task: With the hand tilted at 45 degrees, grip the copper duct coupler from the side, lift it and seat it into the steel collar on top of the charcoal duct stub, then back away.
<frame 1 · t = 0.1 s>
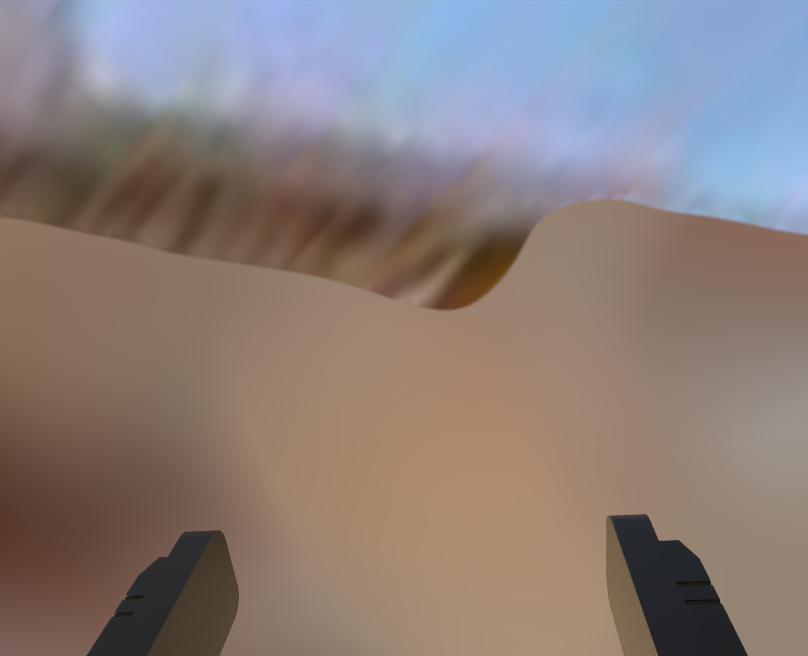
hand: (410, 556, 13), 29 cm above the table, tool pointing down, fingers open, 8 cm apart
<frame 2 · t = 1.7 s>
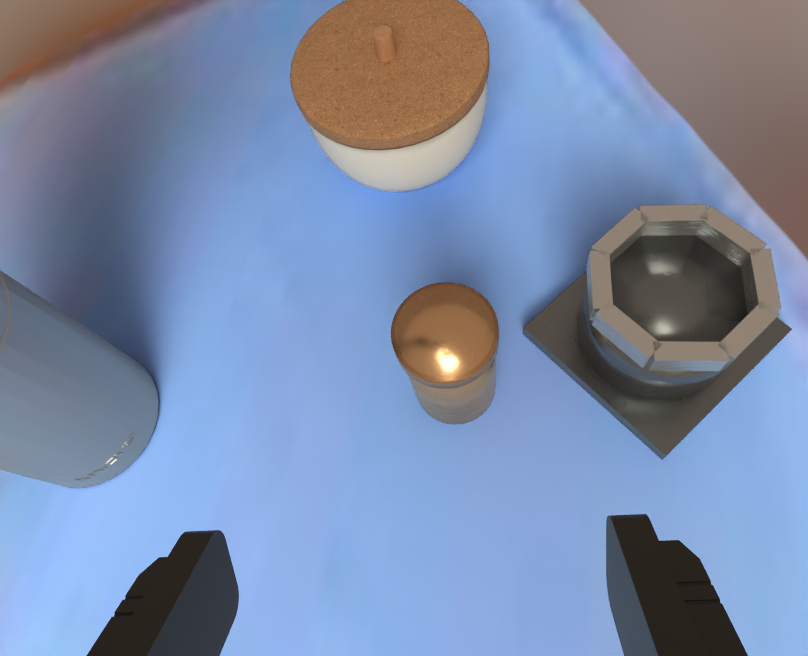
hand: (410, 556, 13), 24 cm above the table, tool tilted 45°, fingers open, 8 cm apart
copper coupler: (455, 385, 40), on the table
lidded bowl: (407, 153, 48), on the table
duct stub: (650, 334, 39), on the table
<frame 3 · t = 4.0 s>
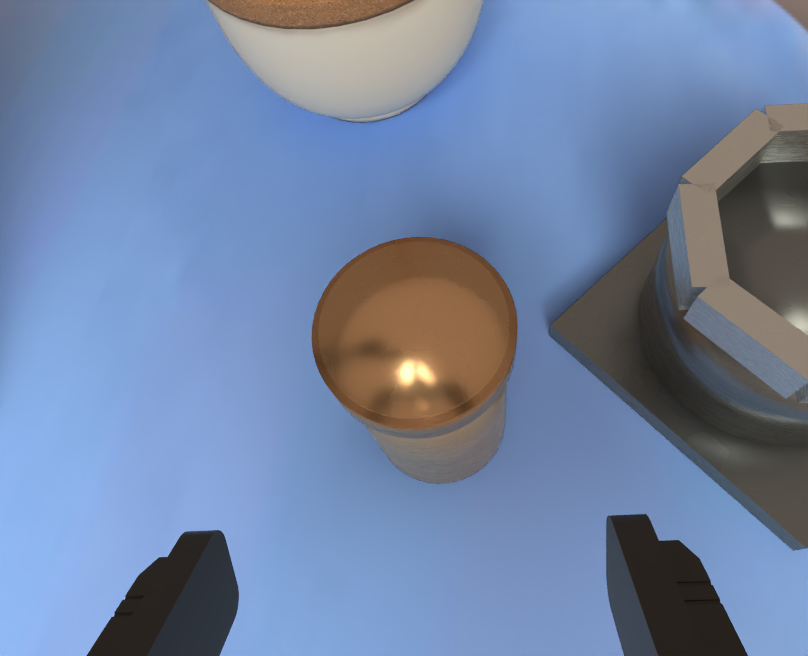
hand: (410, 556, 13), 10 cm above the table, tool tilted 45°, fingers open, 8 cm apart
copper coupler: (439, 418, 25), on the table
lidded bowl: (372, 70, 33), on the table
duct stub: (757, 335, 24), on the table
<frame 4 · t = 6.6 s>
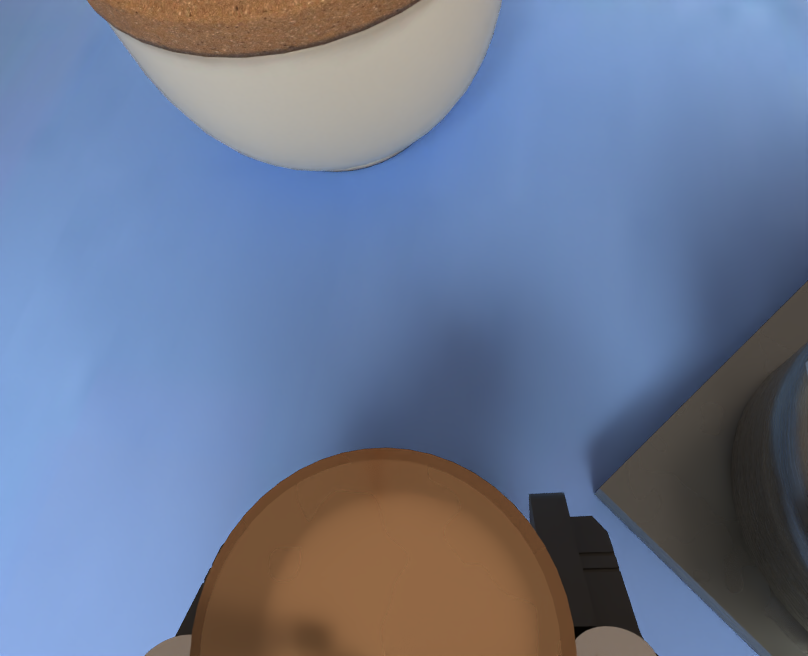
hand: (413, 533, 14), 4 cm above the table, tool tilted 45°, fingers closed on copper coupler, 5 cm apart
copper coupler: (436, 622, 17), on the table, touching gripper
lidded bowl: (350, 100, 25), on the table
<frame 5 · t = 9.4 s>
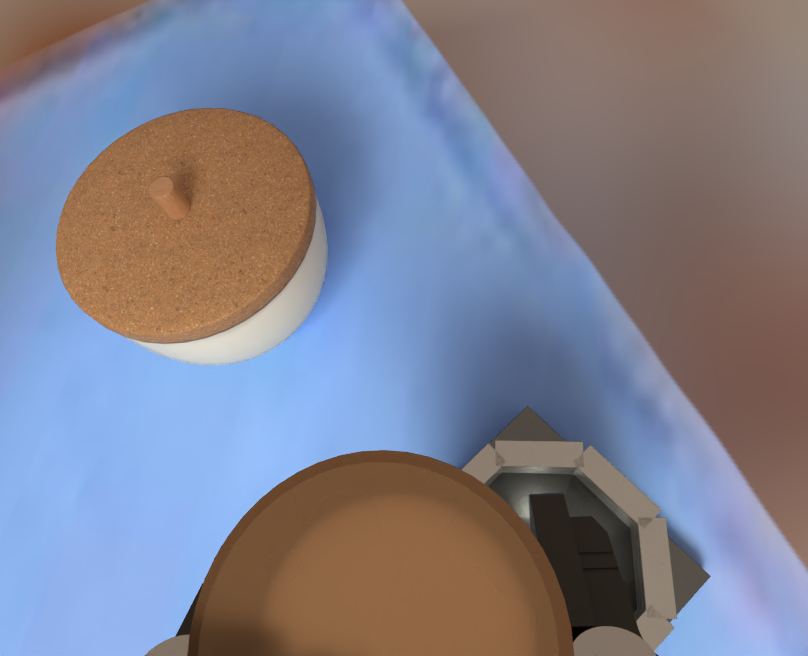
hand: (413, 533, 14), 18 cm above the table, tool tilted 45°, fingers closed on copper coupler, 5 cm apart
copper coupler: (435, 624, 17), point 14 cm above the table, touching gripper
lidded bowl: (249, 296, 38), on the table
duct stub: (531, 569, 30), on the table
when the fingers open (12 cm above the table, at t = 12.0 s): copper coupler drops 2 cm, resting on duct stub.
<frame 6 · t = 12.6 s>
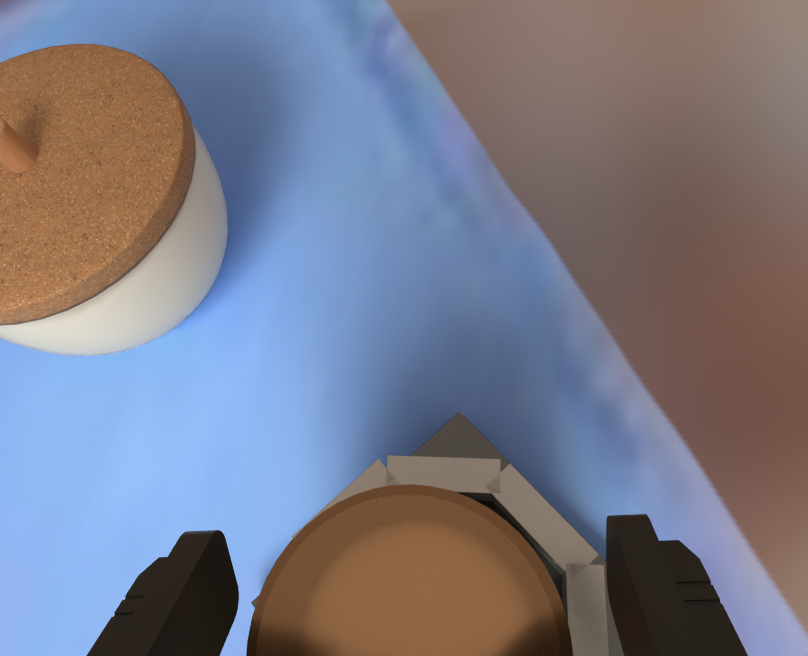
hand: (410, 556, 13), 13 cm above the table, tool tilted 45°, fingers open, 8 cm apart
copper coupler: (443, 637, 18), point 6 cm above the table, touching duct stub
lidded bowl: (148, 277, 33), on the table
duct stub: (454, 616, 24), on the table
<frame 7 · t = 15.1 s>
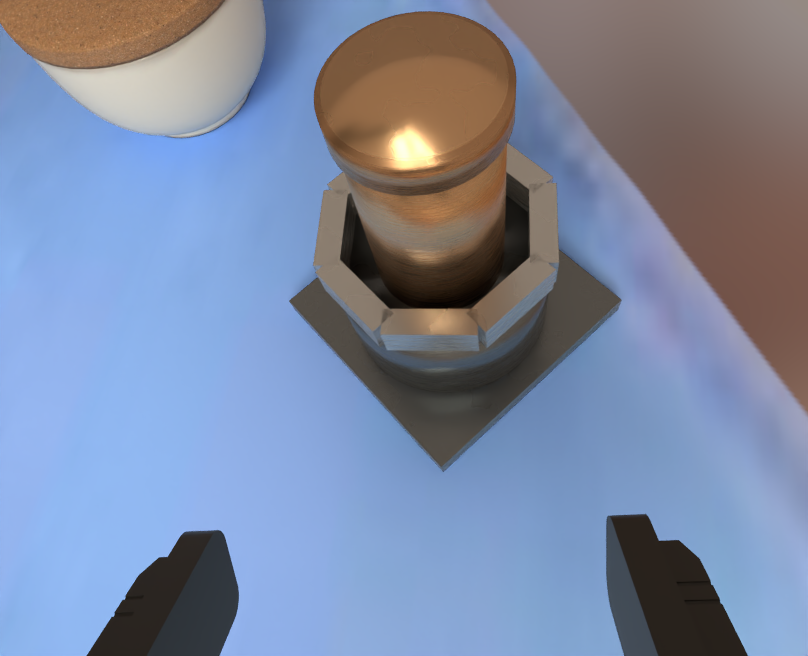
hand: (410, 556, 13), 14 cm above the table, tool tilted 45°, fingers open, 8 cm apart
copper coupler: (440, 254, 25), point 6 cm above the table, touching duct stub
lidded bowl: (197, 94, 39), on the table
duct stub: (450, 309, 31), on the table
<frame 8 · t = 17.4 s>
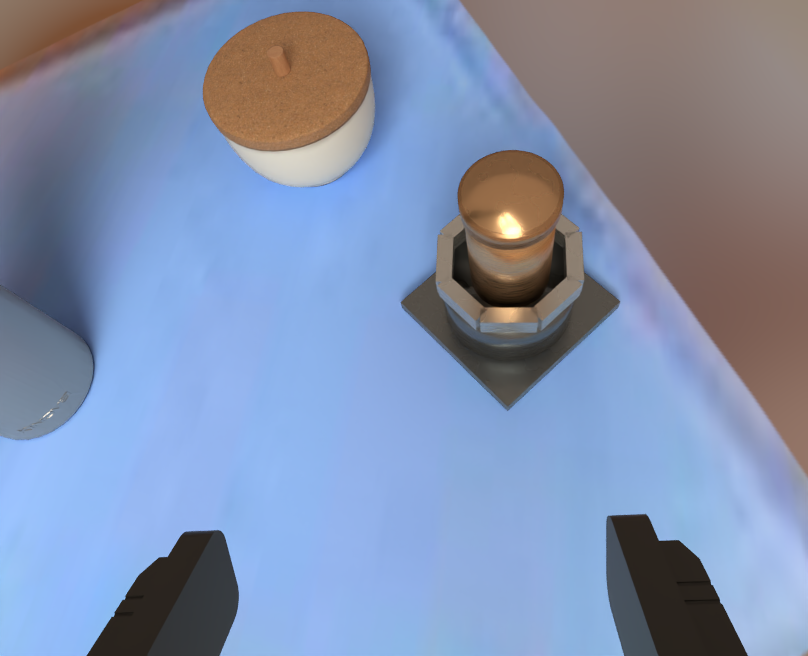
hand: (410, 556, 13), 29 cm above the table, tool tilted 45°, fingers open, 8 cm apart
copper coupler: (509, 274, 41), point 6 cm above the table, touching duct stub
lidded bowl: (317, 154, 55), on the table
duct stub: (507, 307, 46), on the table
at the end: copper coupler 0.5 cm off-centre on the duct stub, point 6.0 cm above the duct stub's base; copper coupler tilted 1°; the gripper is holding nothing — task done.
